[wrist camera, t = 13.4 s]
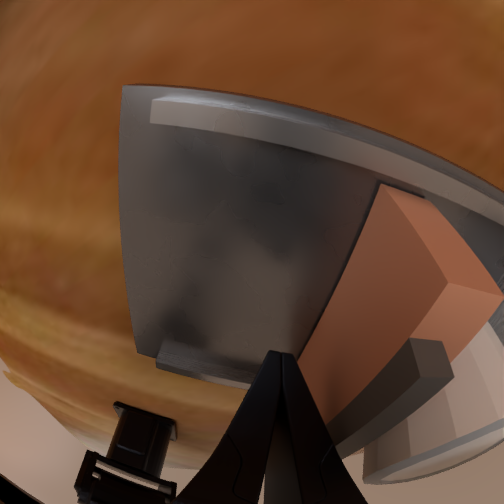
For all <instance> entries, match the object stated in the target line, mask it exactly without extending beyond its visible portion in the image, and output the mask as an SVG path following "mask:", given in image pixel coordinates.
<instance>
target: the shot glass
mask: <svg viewBox="0 0 504 504" xmlns="http://www.w3.org/2000/svg"><path fill="white" fill-rule="evenodd" d="M450 364H451V367H452V370H453V373H454V376H455V377H454V378H453V379H452V380H451V381H450V382H449V383H448V384H447V385H446V386H445V387H444V388H442V389H441V390H440V391H439V392H438V393H437V394H436V395H434V396H433V397H432V398H431V399H430V400H428V401H427V402H426V403H425V404H424V405H422V406H421V407H420V408H419V409H417V410H416V411H415V412H414V413H412V414H411V415H410V416H408V417H407V418H406V419H404V420H403V421H402V422H400V423H399V424H397V425H396V426H395V427H393V428H392V429H390V430H389V431H387V432H386V433H384V434H383V435H381V436H380V437H378V438H377V439H375V440H374V441H372V442H371V443H369V444H368V445H366V446H364V464H363V482H364V484H375V485H382V484H394V483H402V482H408V481H412V480H417V479H421V478H425V477H429V476H432V475H435V474H438V473H441V472H444V471H446V470H450V469H452V468H455V467H457V466H459V465H462V464H464V463H466V462H468V461H470V460H472V459H475V458H477V457H478V456H480V455H482V454H484V453H486V452H487V451H489V450H491V449H493V448H494V447H496V446H497V445H499V444H500V443H502V442H503V441H504V346H503V344H502V343H501V341H500V340H499V338H498V336H497V335H496V333H495V332H494V330H493V328H492V327H491V325H490V324H489V322H488V321H487V322H486V323H485V325H484V326H483V327H482V328H481V329H480V331H479V332H478V333H477V334H476V335H475V337H474V338H473V339H472V340H471V341H470V342H469V344H468V345H467V346H466V347H465V348H464V349H463V350H462V351H461V352H460V354H459V355H458V356H457V357H456V358H455V359H454V360H453V361H452V362H451V363H450Z"/></svg>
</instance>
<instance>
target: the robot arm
mask: <svg viewBox="0 0 504 504" xmlns="http://www.w3.org/2000/svg"><path fill="white" fill-rule="evenodd" d="M113 407H114V409H115V411H116V413H117V414H118V416H119V418H120V419H119V422H118V424H117V427H116V430H115V433H114V435H113V438H112V441H111V444H110V447H109V450H108V452H107V455H106V457H104V456H101V455H99V453H97V452H95V451H94V452H92V451H90V450H87V451H86V454H85V457H84V460H83V462H82V465H81V468H80V471H79V473H78V476H77V479H76V482H75V485H74V488H75V490H76V492H77V497H79V498H78V503H79V504H258V500H259V495H260V492H261V488H262V483H263V479H264V474H265V485H264V504H368V503H367V501H366V500H365V498H364V497H363V495H362V494H361V492H360V490H359V489H358V487H357V486H356V484H355V483H354V481H353V479H352V478H351V476H350V475H349V473H348V471H347V469H346V468H345V466H344V464H343V462H342V460H341V458H340V456H339V454H338V452H337V449H336V447H335V445H334V444H333V441H332V439H331V436H330V434H329V432H328V430H327V428H326V425H325V423H324V421H323V419H322V417H321V414H320V412H319V410H318V408H317V405H316V403H315V401H314V399H313V397H312V394H311V392H310V390H309V388H308V385H307V383H306V381H305V379H304V377H303V374H302V372H301V370H300V368H299V365H298V363H297V361H296V359H295V357H294V355H293V354H292V353H286V352H279V351H274V350H269V351H268V352H267V354H266V356H265V358H264V360H263V362H262V364H261V366H260V368H259V370H258V372H257V374H256V376H255V378H254V380H253V382H252V384H251V386H250V388H249V390H248V392H247V393H246V395H245V397H244V399H243V401H242V403H241V405H240V407H239V408H238V410H237V412H236V414H235V416H234V418H233V420H232V421H231V423H230V425H229V427H228V429H227V430H226V433H225V434H224V435H223V437H222V439H221V441H220V442H219V444H218V446H217V447H216V449H215V450H214V452H213V454H212V455H211V457H210V458H209V459H208V460H207V462H206V463H205V464H204V466H203V467H202V468H201V469H200V471H199V472H198V473H197V474H196V475H195V476H194V478H193V479H192V480H191V481H190V482H189V483H188V485H187V486H186V487H185V488H184V489H183V490H182V491H181V492H180V494H179V495H178V496H177V497H176V489H177V483H175V482H172V481H171V482H169V481H166V480H163V479H160V475H161V471H162V468H163V464H164V460H165V456H166V452H167V449H168V445H169V441H170V440H172V441H176V440H177V434H176V426H175V422H174V421H171V420H168V419H165V418H161V417H158V416H155V415H151V414H148V413H145V412H142V411H139V410H136V409H133V408H130V407H128V406H125V405H122V404H119V403H116V402H114V404H113ZM96 463H99V464H101V465H103V466H105V467H107V468H110V469H112V470H114V471H117V472H119V473H122V474H124V475H127V476H129V477H132V478H135V479H138V480H140V481H143V482H146V483H149V484H151V485H154V486H158V490H155V489H152V488H149V487H146V486H143V485H141V484H137V483H135V482H132V481H129V480H127V479H124V478H122V477H120V476H117V475H115V474H112V473H110V472H108V471H105V470H103V469H101V468H99V467H96V466H95V465H96ZM92 474H94V475H96V476H98V478H96V477H94V476H92ZM0 504H44V503H43V502H41V501H39V500H38V499H36V498H35V497H33V496H32V495H30V494H29V493H27V492H26V491H24V490H23V489H21V488H20V487H18V486H17V485H15V484H14V483H13V482H11V481H10V480H9V479H7V478H6V477H5V476H3V475H2V474H0Z"/></svg>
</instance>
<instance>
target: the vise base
mask: <svg viewBox="0 0 504 504" xmlns="http://www.w3.org/2000/svg"><path fill="white" fill-rule="evenodd" d="M381 184H384V185H387V186H390V187H393V188H396V189H399V190H401V191H404V192H407V193H410V194H412V195H415V196H418V197H420V198H423V199H426V200H428V201H430V202H431V203H432V204H433V205H434V206H435V207H436V208H437V209H438V210H439V212H440V213H441V214H442V215H443V216H444V217H445V218H446V219H447V221H448V222H449V223H450V224H451V225H452V226H453V228H454V229H455V230H456V231H457V232H458V233H459V235H460V236H461V237H462V238H463V240H464V241H465V242H466V243H467V245H468V246H469V247H470V248H471V250H472V251H473V252H474V254H475V255H476V256H477V257H478V259H479V260H480V261H481V263H482V264H483V266H484V267H485V268H486V270H487V271H488V273H489V274H490V275H491V277H492V278H493V280H494V281H495V283H496V284H497V286H498V287H499V289H500V290H501V292H502V293H503V295H504V191H502V190H501V189H499V188H498V187H496V186H494V185H493V184H491V183H489V182H488V181H486V180H484V179H482V178H481V177H479V176H477V175H475V174H474V173H472V172H470V171H468V170H466V169H464V168H462V167H461V166H459V165H457V164H455V163H453V162H451V161H449V160H447V159H445V158H443V157H441V156H439V155H436V154H434V153H432V152H430V151H428V150H426V149H423V148H421V147H419V146H417V145H414V144H412V143H410V142H407V141H405V140H402V139H400V138H398V137H395V136H392V135H390V134H387V133H385V132H382V131H379V130H377V129H374V128H371V127H368V126H365V125H363V124H360V123H357V122H354V121H351V120H347V119H344V118H341V117H338V116H335V115H331V114H328V113H324V112H321V111H317V110H314V109H310V108H306V107H302V106H298V105H294V104H290V103H285V102H281V101H277V100H272V99H267V98H262V97H257V96H252V95H246V94H240V93H234V92H228V91H221V90H213V89H205V88H197V87H187V86H175V85H160V84H129V85H123V89H122V100H121V113H120V129H119V212H120V229H121V243H122V254H123V264H124V273H125V281H126V289H127V296H128V303H129V310H130V316H131V322H132V327H133V333H134V338H135V343H136V348H137V353H139V354H143V355H146V356H149V357H152V358H156V368H159V369H162V370H165V371H169V372H173V373H176V374H180V375H184V376H188V377H191V378H195V379H200V380H204V381H208V382H212V383H217V384H221V385H226V386H231V387H236V388H241V389H247V390H249V388H250V386H251V384H252V382H253V380H254V378H255V376H256V374H257V372H258V370H259V368H260V366H261V364H262V362H263V360H264V358H265V356H266V354H267V352H268V351H269V350H274V351H279V352H286V353H292V354H293V355H294V357H295V359H296V361H298V359H299V358H300V356H301V354H302V352H303V350H304V349H305V347H306V345H307V343H308V341H309V340H310V338H311V336H312V334H313V332H314V330H315V328H316V327H317V325H318V323H319V321H320V319H321V317H322V315H323V313H324V311H325V309H326V307H327V305H328V303H329V301H330V299H331V297H332V295H333V293H334V291H335V289H336V287H337V285H338V283H339V281H340V279H341V277H342V274H343V272H344V270H345V268H346V266H347V264H348V261H349V259H350V257H351V255H352V253H353V250H354V248H355V246H356V244H357V241H358V239H359V237H360V234H361V232H362V230H363V227H364V225H365V223H366V220H367V218H368V215H369V213H370V210H371V208H372V205H373V203H374V200H375V198H376V195H377V193H378V190H379V187H380V185H381ZM488 322H489V324H490V325H491V327H492V328H493V330H494V332H495V333H496V335H497V336H498V338H499V340H500V341H501V343H502V344H503V346H504V299H503V301H502V302H501V304H500V305H499V306H498V308H497V309H496V310H495V312H494V313H493V314H492V316H491V317H490V318H489V320H488Z"/></svg>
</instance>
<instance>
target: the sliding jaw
mask: <svg viewBox="0 0 504 504" xmlns="http://www.w3.org/2000/svg"><path fill="white" fill-rule="evenodd" d="M503 299H504V295H503V293H502V292H501V290H500V289H499V287H498V286H497V284H496V283H495V281H494V280H493V278H492V277H491V275H490V274H489V273H488V271H487V270H486V268H485V267H484V266H483V264H482V263H481V261H480V260H479V259H478V257H477V256H476V255H475V254H474V252H473V251H472V250H471V248H470V247H469V246H468V245H467V243H466V242H465V241H464V240H463V238H462V237H461V236H460V235H459V233H458V232H457V231H456V230H455V229H454V228H453V226H452V225H451V224H450V223H449V222H448V221H447V219H446V218H445V217H444V216H443V215H442V214H441V213H440V212H439V210H438V209H437V208H436V207H435V206H434V205H433V204H432V203H431V202H430V201H428V200H426V199H423V198H420V197H418V196H415V195H412V194H410V193H407V192H404V191H401V190H399V189H396V188H393V187H390V186H387V185H384V184H381V185H380V187H379V190H378V193H377V195H376V198H375V200H374V203H373V205H372V208H371V210H370V213H369V215H368V218H367V220H366V223H365V225H364V227H363V230H362V232H361V234H360V237H359V239H358V241H357V244H356V246H355V248H354V250H353V253H352V255H351V257H350V259H349V261H348V264H347V266H346V268H345V270H344V272H343V274H342V277H341V279H340V281H339V283H338V285H337V287H336V289H335V291H334V293H333V295H332V297H331V299H330V301H329V303H328V305H327V307H326V309H325V311H324V313H323V315H322V317H321V319H320V321H319V323H318V325H317V327H316V328H315V330H314V332H313V334H312V336H311V338H310V340H309V341H308V343H307V345H306V347H305V349H304V350H303V352H302V354H301V356H300V358H299V359H298V361H297V363H298V365H299V368H300V370H301V372H302V374H303V377H304V379H305V381H306V383H307V385H308V388H309V390H310V392H311V394H312V397H313V399H314V401H315V403H316V405H317V408H318V410H319V412H320V414H321V417H322V419H323V421H324V423H325V425H326V428H327V430H328V432H329V434H330V436H331V439H332V441H333V444H334V445H335V447H336V449H337V452H338V454H339V456H340V458H341V460H342V459H344V458H346V457H347V456H349V455H351V454H353V453H354V452H356V451H358V450H359V449H361V448H363V447H364V446H366V445H368V444H369V443H371V442H372V441H374V440H375V439H377V438H378V437H380V436H381V435H383V434H384V433H386V432H387V431H389V430H390V429H392V428H393V427H395V426H396V425H397V424H399V423H400V422H402V421H403V420H404V419H406V418H407V417H408V416H410V415H411V414H412V413H414V412H415V411H416V410H417V409H419V408H420V407H421V406H422V405H424V404H425V403H426V402H427V401H428V400H430V399H431V398H432V397H433V396H434V395H436V394H437V393H438V392H439V391H440V390H441V389H442V388H444V387H445V386H446V385H447V384H448V383H449V382H450V381H451V380H452V379H453V378H454V377H455V376H454V373H453V370H452V367H451V364H450V363H451V362H452V361H453V360H454V359H455V358H456V357H457V356H458V355H459V354H460V352H461V351H462V350H463V349H464V348H465V347H466V346H467V345H468V344H469V342H470V341H471V340H472V339H473V338H474V337H475V335H476V334H477V333H478V332H479V331H480V329H481V328H482V327H483V326H484V325H485V323H486V322H487V321H488V320H489V318H490V317H491V316H492V314H493V313H494V312H495V310H496V309H497V308H498V306H499V305H500V304H501V302H502V301H503Z"/></svg>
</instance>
